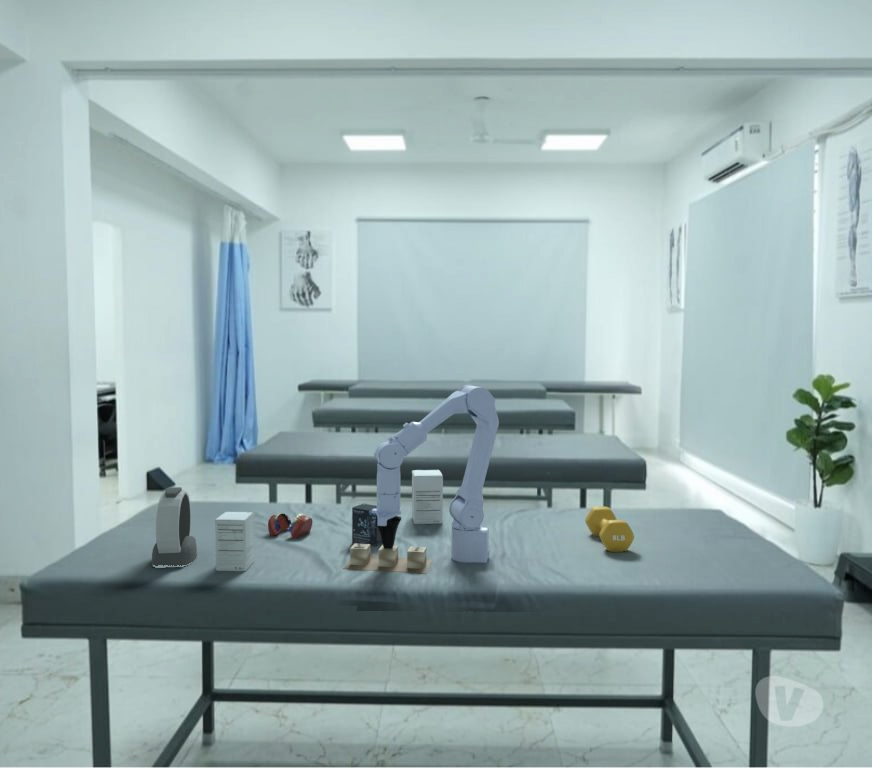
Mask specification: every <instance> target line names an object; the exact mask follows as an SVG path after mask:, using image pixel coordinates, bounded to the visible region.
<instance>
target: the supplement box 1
mask: <svg viewBox="0 0 872 768" xmlns="http://www.w3.org/2000/svg"><path fill="white" fill-rule="evenodd" d="M214 521H215V523H214V524H215V570H216V571H217V572H246V571H247V570H248V569H249V568H250V567H251V566H252V564H253V563H254V562H255V540H254V539H255V537H254V536H255V535H254V533H255V531H254V527H255V525H254V524H255V523H254V512H250V511H224V512H223V513H222V514H220V515H219V516H218V517H217V518H216V519H215V520H214Z"/></svg>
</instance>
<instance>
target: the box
mask: <svg viewBox="0 0 872 768" xmlns="http://www.w3.org/2000/svg"><path fill="white" fill-rule="evenodd" d="M373 509H377V504H376V505H375V504H368V503H362V504H359V505H355V506H353V507H352V508H351V510H352V512H351V513H352V514H351V517H352V518H351V530H352V531H351V538H352V539H351V542H352V543H353V544H370V547H374V548H375V547H378V546H380V545H381V546H382V545H383V543H382V539H381V534H380V531H379V529H378V527H377V525H376V522H375V520H376V519H377V518H378V517H377V515H376V513H372V510H373Z"/></svg>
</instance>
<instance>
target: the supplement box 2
mask: <svg viewBox="0 0 872 768" xmlns="http://www.w3.org/2000/svg"><path fill="white" fill-rule="evenodd" d="M443 503H444V476H443V474H442V472H441V470H439V469H425V470H423V469H415V470H414V469H413V470H411V518H412V521H413V524H414V525H433V524H434V525H441V524H443V523H444V520H443V518H444V517H443V516H444V514H443V513H444V511H443V510H444V506H443V505H444V504H443Z"/></svg>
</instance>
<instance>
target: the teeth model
mask: <svg viewBox="0 0 872 768" xmlns="http://www.w3.org/2000/svg"><path fill="white" fill-rule="evenodd" d="M292 521H293V522H292ZM313 521H314V520H313V518H311V517H309V516H307V515H306V514H304V513H298V514H297V515H296V516H295V518H293V520H291V519H290V517H289V516H288V515H287V514H286V513H284V512H281V513H278V514H276V515H275V514H273V515H271V516H270V517H269V519H268V520H267V530H268V533H269V536H270V537H273V536H276V535H278V534H279V533H281V532H283V531H286V530H288V532H289V533H290V537H291V538H293V539H295V540H297V539H300V537H302V536H304V535H306V534H308V533H310V532H311V531H312V527H313V523H314V522H313Z"/></svg>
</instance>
